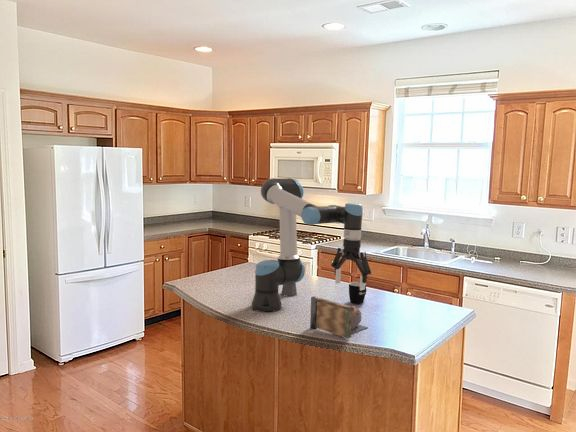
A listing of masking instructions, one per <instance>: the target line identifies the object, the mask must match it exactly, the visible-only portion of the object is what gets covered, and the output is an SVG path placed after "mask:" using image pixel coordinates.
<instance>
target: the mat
mask: <svg viewBox="0 0 576 432" xmlns="http://www.w3.org/2000/svg"><path fill="white" fill-rule="evenodd" d="M368 328H369V327H368V326H366V325H362V324H360V323H359V324H358V325H357V326H356V327H355V328H354V329H353V330H352V329H351V335H354V334H357V333H358V332H361V331H364V330H367V329H368Z"/></svg>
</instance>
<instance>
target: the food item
mask: <svg viewBox="0 0 576 432" xmlns="http://www.w3.org/2000/svg"><path fill="white" fill-rule="evenodd" d="M351 307H352V316H351V329H352V330H353V329H354V328H355V327H356V326H357V325H358V324H359V325H360V323H361V322H362V311H360V309H359V308H358V307H356V306H353V305H351Z"/></svg>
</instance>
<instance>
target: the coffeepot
mask: <svg viewBox="0 0 576 432" xmlns="http://www.w3.org/2000/svg"><path fill="white" fill-rule="evenodd" d="M296 283H297V282H296ZM296 283H293V284H292V283H290V284H284V285H282V287H281V288H282V289H281V295H282V296H284V295H285V297H294V296H295V295H296V296H298V292H297V284H296Z"/></svg>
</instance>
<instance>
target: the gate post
mask: <svg viewBox="0 0 576 432" xmlns="http://www.w3.org/2000/svg"><path fill="white" fill-rule="evenodd" d="M318 298H319V297H318V296H315V295H314V296H311V297H310V321H309V322H310V324H309V328H310V329H311V330H317V329H318V328H316V323H317V299H318ZM310 329H309V330H310Z"/></svg>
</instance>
